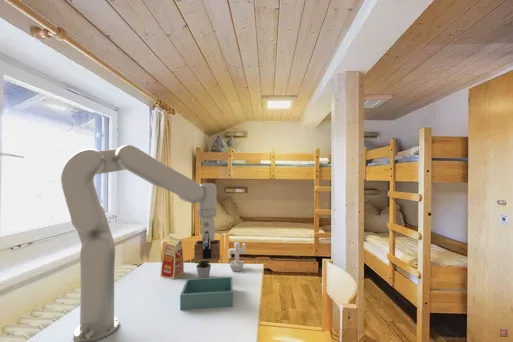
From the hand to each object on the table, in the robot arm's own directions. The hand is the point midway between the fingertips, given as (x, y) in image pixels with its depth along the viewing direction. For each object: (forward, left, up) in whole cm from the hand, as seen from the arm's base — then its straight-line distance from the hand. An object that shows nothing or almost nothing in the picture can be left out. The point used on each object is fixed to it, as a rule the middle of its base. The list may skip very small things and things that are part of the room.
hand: (207, 255), depth 104 cm
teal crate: (0, 0, -18) cm, 18 cm away
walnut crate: (0, 0, -1) cm, 1 cm away
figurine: (+31, -13, -18) cm, 38 cm away
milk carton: (+28, +20, -18) cm, 39 cm away
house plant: (+23, +5, -18) cm, 30 cm away
